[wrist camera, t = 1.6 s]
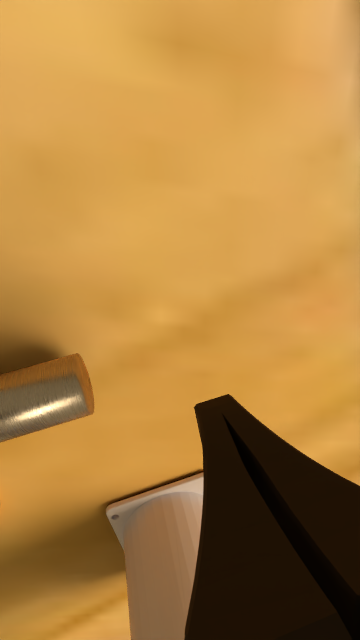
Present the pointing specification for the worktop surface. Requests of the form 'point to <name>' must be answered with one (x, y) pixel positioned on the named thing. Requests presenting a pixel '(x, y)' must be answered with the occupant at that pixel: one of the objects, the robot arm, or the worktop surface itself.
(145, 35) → the worktop surface
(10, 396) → the shaft
